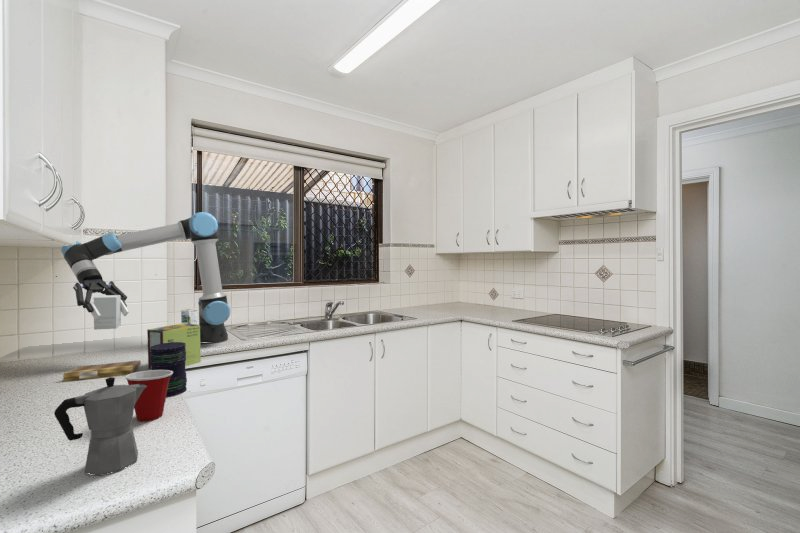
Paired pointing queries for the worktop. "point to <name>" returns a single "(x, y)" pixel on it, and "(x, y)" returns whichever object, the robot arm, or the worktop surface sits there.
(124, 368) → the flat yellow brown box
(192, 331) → the protein box
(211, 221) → the robot arm
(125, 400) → the coffeepot
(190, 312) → the syrup box
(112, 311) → the supplement box
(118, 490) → the worktop surface
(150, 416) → the plastic cup
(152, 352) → the storage jar
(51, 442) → the worktop surface
